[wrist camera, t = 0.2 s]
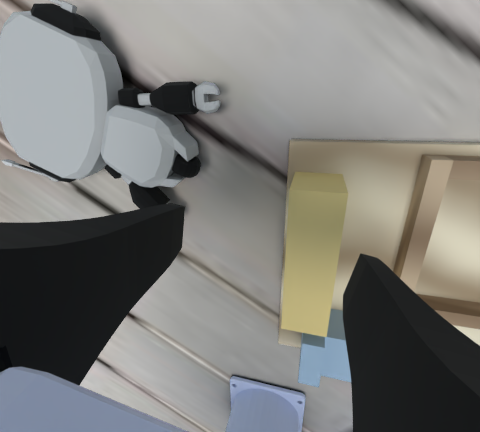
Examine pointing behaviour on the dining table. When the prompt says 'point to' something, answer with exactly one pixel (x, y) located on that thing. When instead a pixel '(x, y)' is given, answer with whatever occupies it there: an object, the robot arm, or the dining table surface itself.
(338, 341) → the blue notched block
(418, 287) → the jig
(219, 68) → the dining table surface
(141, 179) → the robot toy
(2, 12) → the dining table surface
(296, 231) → the yellow rectangular block
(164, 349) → the dining table surface
